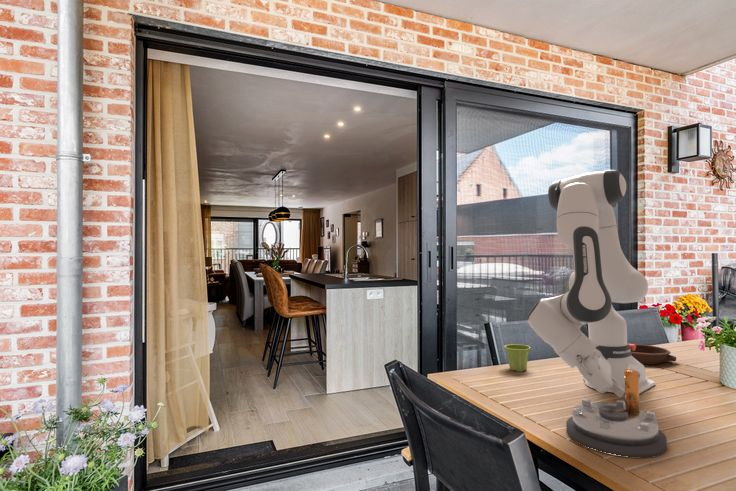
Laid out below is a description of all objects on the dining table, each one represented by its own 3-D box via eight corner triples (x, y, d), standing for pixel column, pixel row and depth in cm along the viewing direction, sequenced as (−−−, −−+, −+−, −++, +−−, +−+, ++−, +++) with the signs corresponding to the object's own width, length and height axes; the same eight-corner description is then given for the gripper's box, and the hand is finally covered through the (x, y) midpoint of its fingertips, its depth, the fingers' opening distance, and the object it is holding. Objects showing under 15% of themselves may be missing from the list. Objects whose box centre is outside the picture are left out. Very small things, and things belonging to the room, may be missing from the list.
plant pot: (501, 366, 166) (500, 344, 166) (524, 365, 166) (523, 343, 166) (511, 373, 156) (510, 350, 156) (535, 372, 157) (534, 348, 157)
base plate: (601, 414, 116) (601, 407, 116) (686, 444, 97) (686, 436, 97) (548, 430, 107) (547, 423, 107) (630, 467, 88) (630, 458, 88)
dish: (677, 370, 155) (677, 356, 155) (609, 362, 167) (608, 350, 167) (675, 359, 169) (675, 346, 169) (612, 353, 182) (612, 341, 182)
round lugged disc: (664, 425, 103) (661, 372, 103) (651, 453, 90) (649, 392, 90) (584, 408, 115) (582, 361, 115) (562, 431, 102) (560, 377, 102)
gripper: (586, 353, 102) (635, 399, 97) (588, 336, 120) (629, 375, 115) (566, 369, 104) (613, 415, 99) (571, 351, 122) (611, 389, 117)
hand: (622, 394), depth 107 cm, fingers closed
